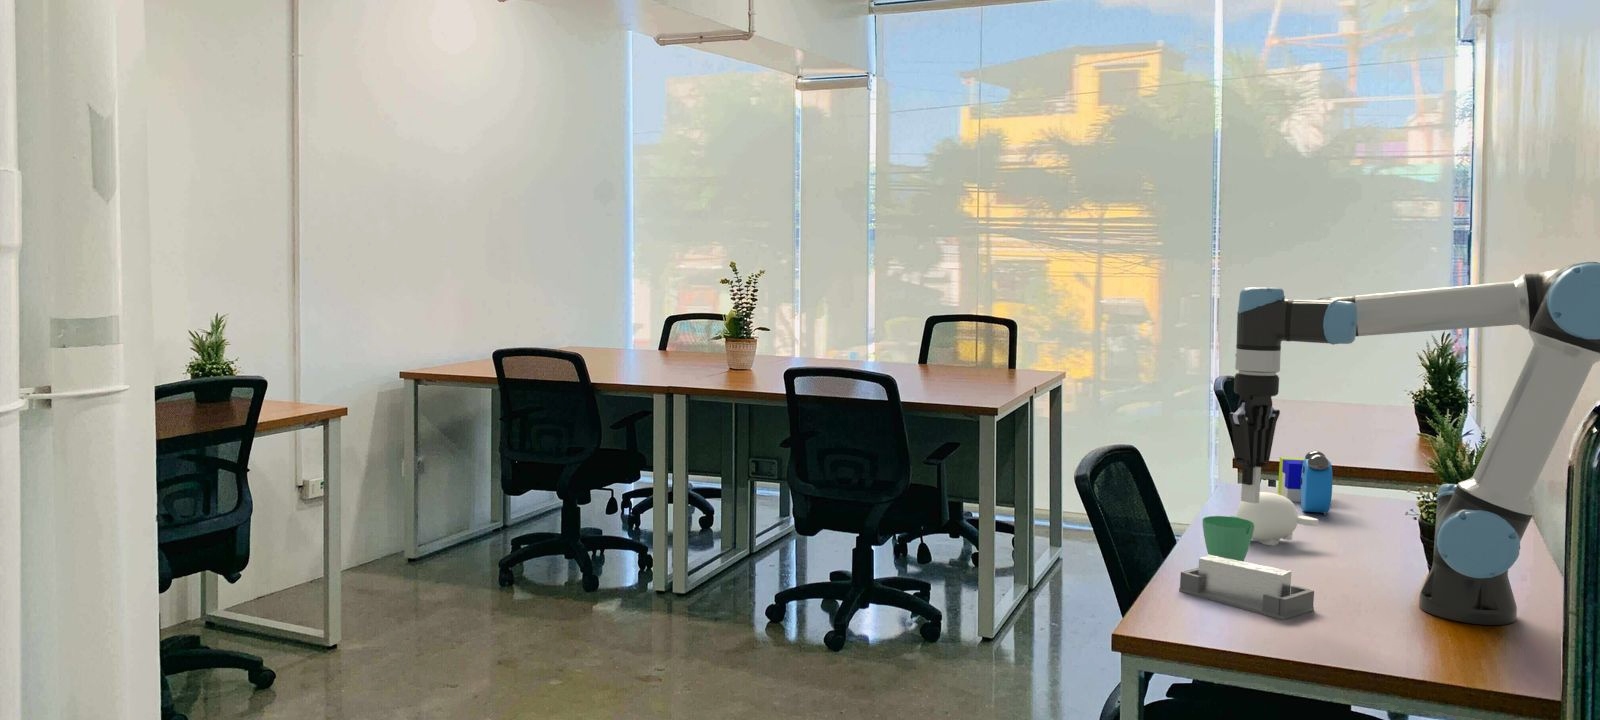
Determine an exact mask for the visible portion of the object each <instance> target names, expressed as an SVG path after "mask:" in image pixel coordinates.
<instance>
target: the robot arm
mask: <svg viewBox="0 0 1600 720" xmlns="http://www.w3.org/2000/svg"><path fill="white" fill-rule="evenodd" d="M1237 308H1238V309H1237V312H1236V315H1237V317H1236V323H1237V324H1236V346H1235V347H1236V351H1235V352H1236V353H1235V355H1234V356H1235V365H1234V366H1235V367H1234V368H1235V370H1236V371H1237V372H1236V373H1235V374H1234V379H1233V381H1234V383H1233V391H1234V393H1235V394H1236V395H1238V396H1239V400H1238V404H1237V410H1236V411H1235V412H1229V415H1228V418H1229V420H1230V424H1231V433H1232V443H1233V454H1234V463H1235V464H1236V465H1237V466H1241V467H1242V470H1241V472H1242V473H1241V493H1240V495H1241V496H1240V502H1241V501H1244V502H1249V503H1254V504H1255V503H1259V496H1260V492H1261V478H1262V475H1261V473H1262V467H1263V468H1267V467H1268V465H1269V464H1268V463H1269V461H1270V458H1271V453H1272V448H1273V442H1274V436H1275V431H1276V426H1277V421H1278V419H1279V416H1280V414H1281V413H1280V412H1281V411H1280V409H1276V408H1274V407H1273V399H1272V397H1276V396H1277V395H1279V388H1280V376H1279V374H1277V373H1279V372H1280V371H1281V354H1282V353H1281V352H1282V351H1281V349H1282V342H1298V343H1315V344H1330V345H1340V344H1341V345H1344V344H1345V345H1350V344H1352V343H1353V342H1354V341H1355V340H1356V337H1367V336H1380V335H1395V334H1407V333H1408V334H1409V333H1422V332H1435V331H1451V330H1460V329H1462V330H1463V329H1475V328H1476V329H1477V328H1489V327H1502V326H1516V325H1517V326H1521V327H1522V328H1523V329H1524V330H1526V331H1527V330H1528V331H1527V332H1528V334H1529V337H1530V338H1531V340H1532V341H1533V346H1532V348H1531V351H1530V352H1529V354H1528V356H1527V359H1526V361H1525V363H1524V366H1523V367H1522V370H1521V372H1520V375H1519V376H1518V378H1517V380H1516V382H1515V385H1514V387H1513V389H1512V391H1511V393H1510V396H1509V397H1508V400H1507V402H1506V405H1505V406H1504V409H1503V411H1502V412H1501V414H1500V417H1499V419H1498V421H1497V423H1496V426H1495V428H1494V430H1493V432H1492V434H1491V436H1490V439H1489V440H1488V443H1487V445H1486V447H1485V449H1484V452H1483V454H1482V456H1481V458H1480V460H1479V462H1478V463H1477V466H1476V469H1475V470H1474V473H1473V475H1472V476H1471V477H1470V478H1469V479H1466V480H1462V481H1460V482H1458V483H1457V484H1456V483H1442V484H1441V485H1440V486H1439V487H1438V491H1437V496H1436V497H1435V501H1436V514H1435V527H1434V529H1435V530H1434V544H1433V545H1434V546H1433V560H1432V566H1431V569H1430V571H1429V573H1428V575H1427V578H1426V580H1425V582H1424V584H1423V586H1422V588H1421V590H1420V593H1419V602H1418V606H1419V608H1420V609H1421V610H1422V611H1424V612H1426V613H1427V614H1430V615H1433V616H1436V617H1439V618H1443V619H1447V620H1450V621H1454V622H1455V621H1456V622H1459V623H1460V622H1461V623H1465V624H1466V623H1467V624H1472V625H1473V624H1474V625H1486V626H1500V625H1502V626H1503V625H1508V624H1509V625H1510V624H1513V623H1515V622H1516V621H1517V612H1518V607H1517V603H1516V599H1515V596H1514V593H1513V588H1512V586H1511V583H1510V579H1509V578H1510V577H1509V569H1511V568H1512V566H1514V564H1515V563H1516V561H1517V560H1518V559H1519V556H1520V551H1521V541H1522V539H1523V536H1524V535H1525V532H1526V530H1527V528H1528V527H1529V523H1530V522H1531V519H1532V518H1533V516H1534V514H1535V511H1534V509H1533V508H1532V505H1531V503H1530V501H1529V498H1530V497H1531V495H1532V492H1533V491H1534V488H1535V486H1536V484H1537V482H1538V480H1539V478H1540V475H1541V474H1542V472H1543V470H1544V468H1545V465H1546V463H1547V461H1548V459H1549V457H1550V455H1551V453H1552V452H1553V448H1554V447H1555V445H1556V442H1557V441H1558V438H1559V436H1560V434H1561V432H1562V430H1563V428H1564V425H1565V423H1566V422H1567V419H1568V417H1569V415H1570V413H1571V412H1572V409H1573V407H1574V404H1575V403H1576V401H1577V399H1578V396H1579V395H1580V392H1581V390H1582V388H1583V387H1584V384H1585V383H1586V380H1587V378H1588V376H1589V374H1590V371H1591V370H1592V367H1593V366H1594V365H1595V364H1596V363H1599V362H1600V262H1597V261H1586V262H1580V263H1572V264H1569V265H1566V266H1562V267H1559V268H1555V269H1550V270H1547V271H1539V272H1535V273H1523V274H1520V276H1519V277H1517V279H1515V280H1511V281H1510V280H1509V281H1501V282H1500V281H1499V282H1490V283H1489V282H1488V283H1480V284H1479V283H1478V284H1477V283H1476V284H1468V285H1457V286H1445V287H1435V288H1425V289H1424V288H1423V289H1414V290H1413V289H1412V290H1403V291H1392V292H1382V293H1381V292H1380V293H1370V294H1361V295H1360V294H1359V295H1353V296H1349V295H1348V296H1347V295H1346V296H1338V297H1330V296H1329V297H1328V296H1327V297H1322V298H1321V297H1320V298H1317V299H1290V298H1286V296H1285V292H1284V289H1283V288H1280V287H1264V286H1263V287H1262V286H1261V287H1260V286H1254V287H1253V286H1250V287H1249V286H1248V287H1244V288H1242V290H1241V291H1240V292H1239V298H1238V307H1237Z"/></svg>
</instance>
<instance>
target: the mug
mask: <svg viewBox="0 0 1600 720" xmlns="http://www.w3.org/2000/svg"><path fill="white" fill-rule="evenodd" d="M1202 529H1203V530H1202V531H1203V537H1204V542H1205V547H1206V551H1207V555H1213V556H1218V557H1223V558H1228V559H1233V560H1238V561H1243V562H1245V559H1246V556H1247V554H1248V552H1249V549H1250V545H1251V541H1252V540H1253V539H1252V535H1253V531H1254V523H1253V522H1251V521H1249V520H1246V519H1242V518H1239V517H1237V515H1231V516H1226V515H1225V516H1224V515H1223V516H1222V515H1211V516H1205V517H1203V518H1202Z"/></svg>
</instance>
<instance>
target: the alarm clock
mask: <svg viewBox="0 0 1600 720" xmlns="http://www.w3.org/2000/svg"><path fill="white" fill-rule="evenodd" d="M1304 458H1305V460H1304V462H1303V466H1302V474H1301V502H1300V506H1301V510H1302V511H1303V512H1306V513H1318V514H1319V513H1320V514H1321V513H1322V514H1323V515H1326V514H1328V513H1329V512H1330V509H1331V505H1332V498H1333V497H1332V496H1333V467H1332V462H1331V461H1330V460H1329V459H1328V458H1327V457H1326V455H1325V454H1324V453H1323V452H1321V451H1319V450H1312V451H1309V452H1308V453H1306V454H1305V456H1304ZM1326 516H1327V515H1326Z"/></svg>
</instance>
